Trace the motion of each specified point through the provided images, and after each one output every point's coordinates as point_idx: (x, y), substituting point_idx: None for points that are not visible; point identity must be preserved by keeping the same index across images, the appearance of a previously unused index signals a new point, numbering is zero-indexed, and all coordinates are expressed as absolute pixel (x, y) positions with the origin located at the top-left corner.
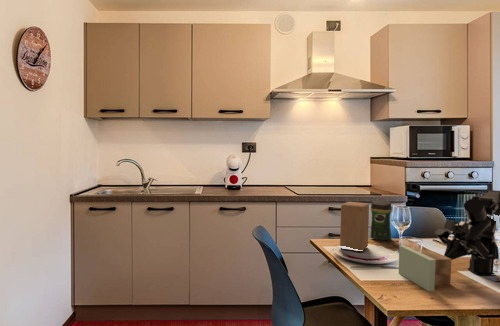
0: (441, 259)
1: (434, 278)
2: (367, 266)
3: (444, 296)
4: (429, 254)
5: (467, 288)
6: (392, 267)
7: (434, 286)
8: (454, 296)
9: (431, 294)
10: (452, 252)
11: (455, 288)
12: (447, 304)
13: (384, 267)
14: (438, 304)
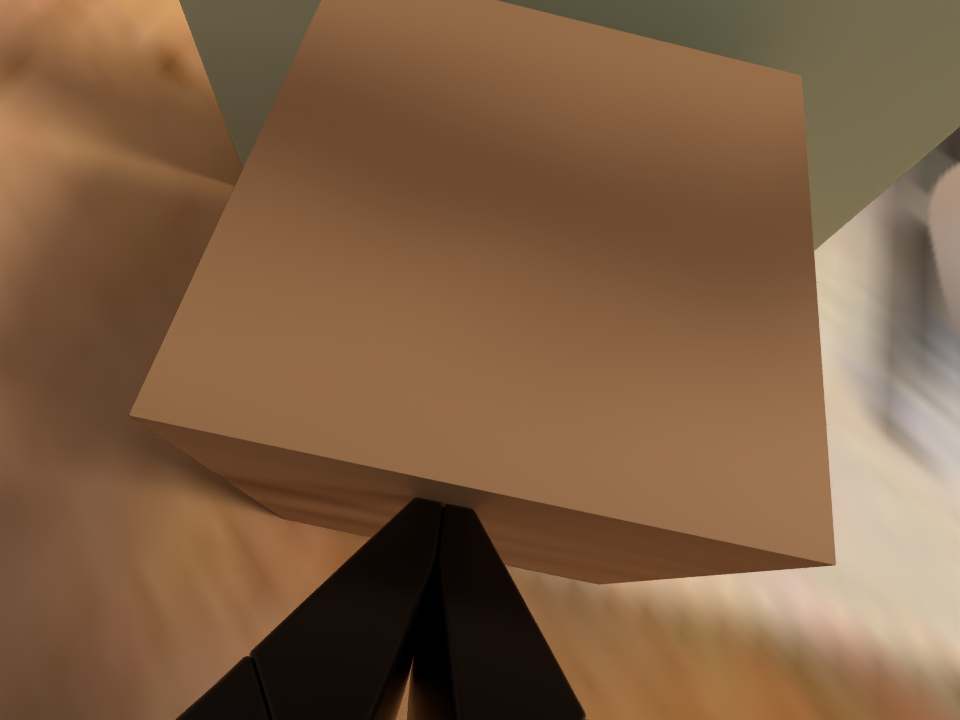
0: (255, 159)
1: (209, 73)
2: (943, 145)
3: (118, 172)
4: (641, 231)
5: (69, 622)
6: (913, 327)
7: (237, 154)
8: (53, 251)
9: (217, 116)
10: (211, 697)
11: (168, 458)
12: (7, 64)
13: (915, 255)
14: (60, 15)
